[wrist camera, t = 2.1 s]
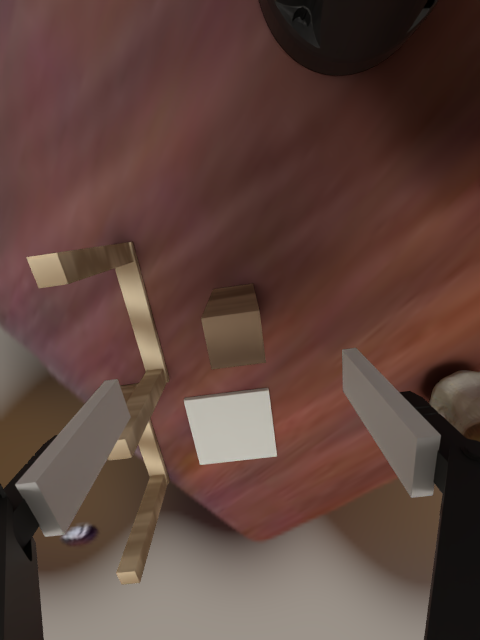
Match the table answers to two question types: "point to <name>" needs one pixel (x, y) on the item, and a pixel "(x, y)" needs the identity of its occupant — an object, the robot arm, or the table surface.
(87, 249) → the gate
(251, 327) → the walnut block
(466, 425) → the ceramic sculpture
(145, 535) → the gate
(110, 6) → the table surface
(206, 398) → the pad
